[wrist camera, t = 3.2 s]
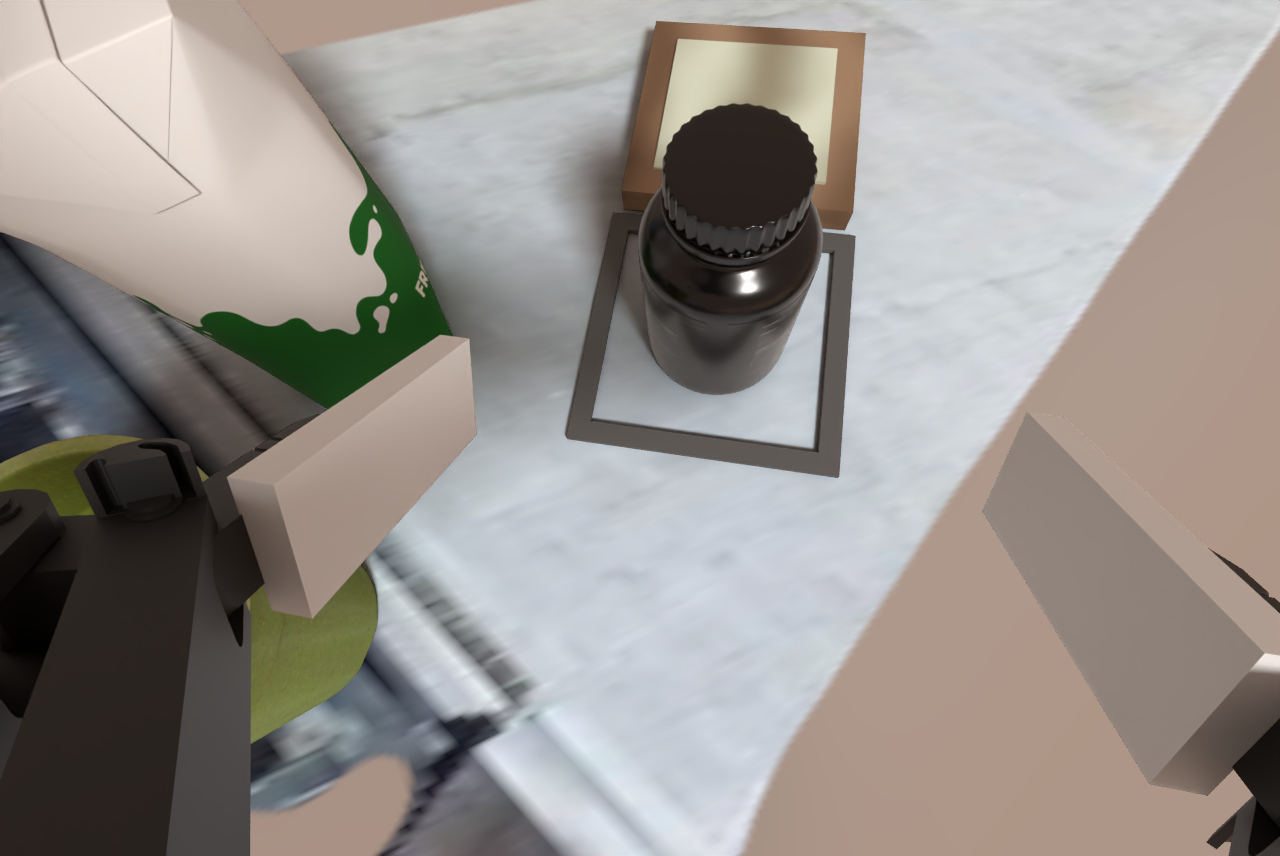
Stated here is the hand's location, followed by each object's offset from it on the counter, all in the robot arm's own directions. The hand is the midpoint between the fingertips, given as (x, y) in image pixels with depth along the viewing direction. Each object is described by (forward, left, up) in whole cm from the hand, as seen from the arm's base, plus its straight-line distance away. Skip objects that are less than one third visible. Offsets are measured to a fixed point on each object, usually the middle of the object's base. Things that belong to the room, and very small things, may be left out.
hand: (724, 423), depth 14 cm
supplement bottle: (-1, +9, -13) cm, 16 cm away
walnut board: (-1, +22, -13) cm, 25 cm away
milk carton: (-19, +7, -13) cm, 24 cm away
